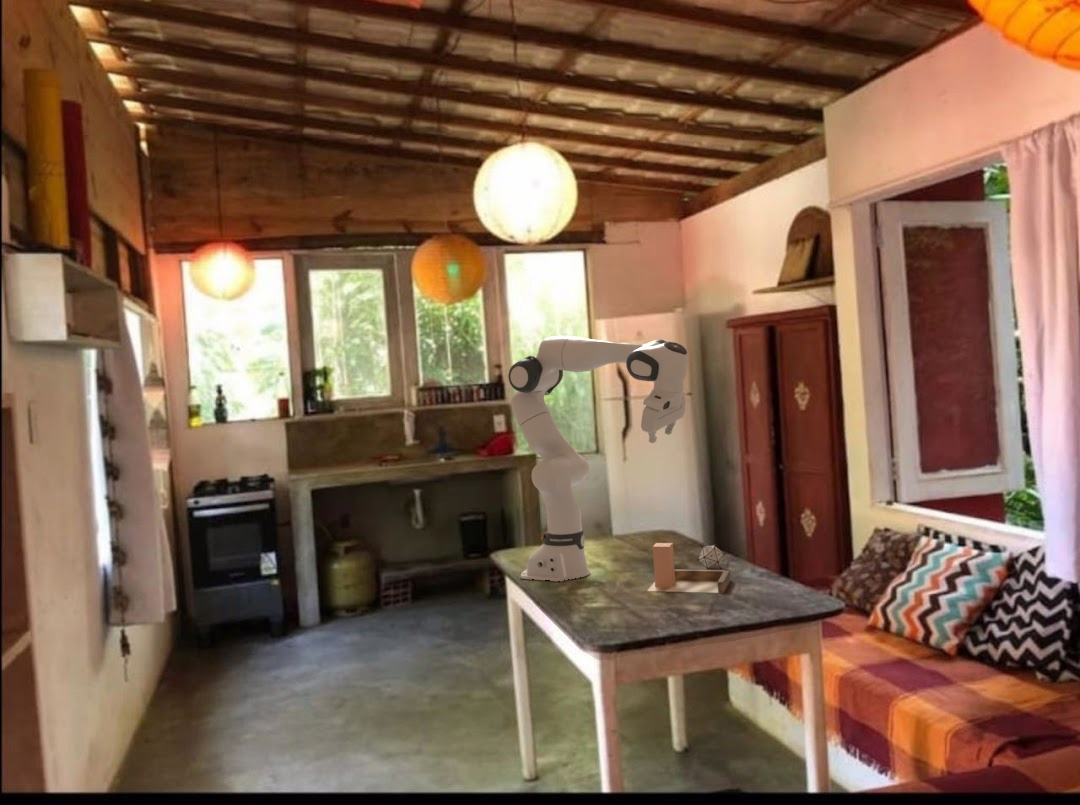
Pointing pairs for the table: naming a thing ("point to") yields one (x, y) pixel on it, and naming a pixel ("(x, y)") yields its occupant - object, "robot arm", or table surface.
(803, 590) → the table surface
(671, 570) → the terracotta block
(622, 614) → the table surface
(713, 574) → the board
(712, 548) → the game die
